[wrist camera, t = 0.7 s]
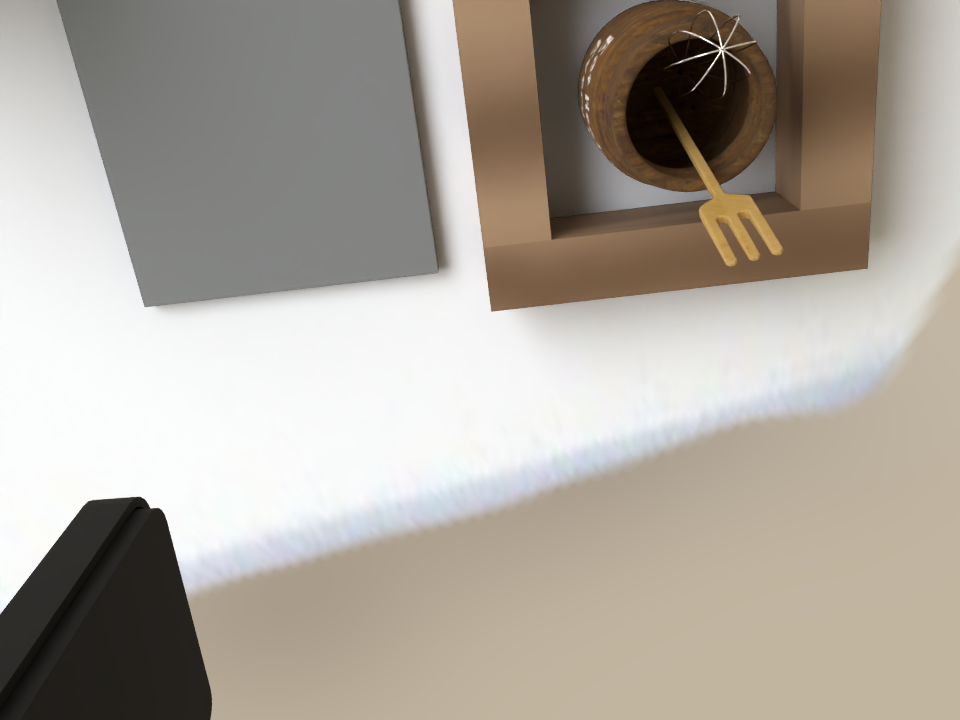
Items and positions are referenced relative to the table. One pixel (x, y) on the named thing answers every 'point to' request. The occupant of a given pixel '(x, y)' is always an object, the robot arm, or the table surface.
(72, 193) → the table surface
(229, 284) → the slate coaster
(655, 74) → the utensil holder
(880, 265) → the table surface
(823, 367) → the table surface
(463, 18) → the wooden square frame
